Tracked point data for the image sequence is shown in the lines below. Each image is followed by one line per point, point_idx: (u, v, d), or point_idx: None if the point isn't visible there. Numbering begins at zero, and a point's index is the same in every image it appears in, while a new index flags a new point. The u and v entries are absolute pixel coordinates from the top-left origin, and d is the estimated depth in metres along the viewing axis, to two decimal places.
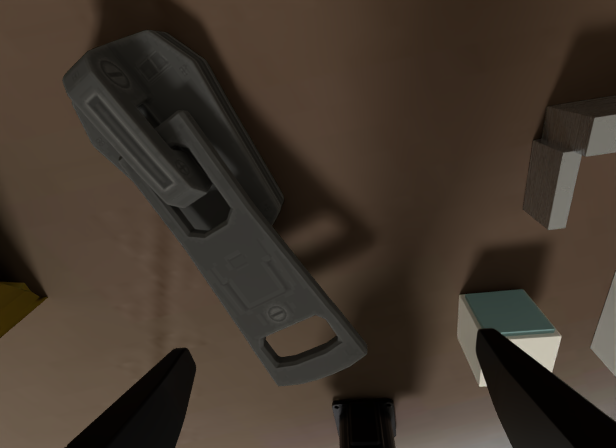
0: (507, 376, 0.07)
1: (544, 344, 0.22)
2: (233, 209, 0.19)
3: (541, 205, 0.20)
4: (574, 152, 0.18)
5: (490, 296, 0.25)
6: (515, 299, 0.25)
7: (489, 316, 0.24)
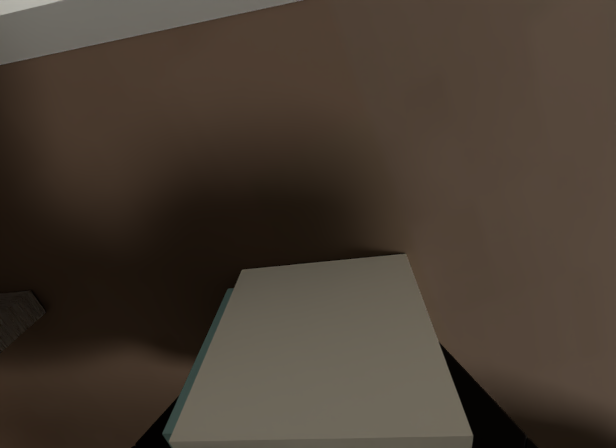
0: None
1: None
2: None
3: None
4: None
5: None
6: None
7: None
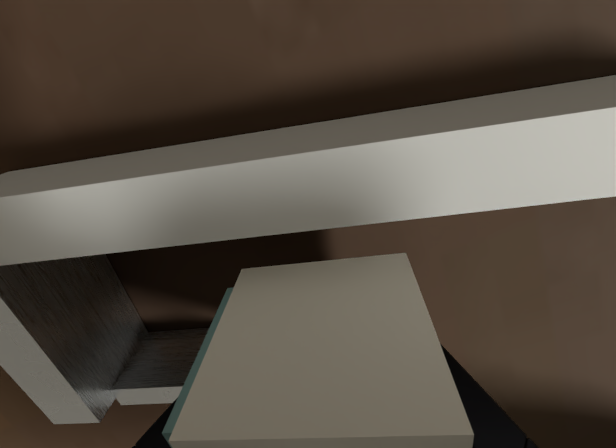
0: None
1: None
2: None
3: None
4: (116, 395, 0.13)
5: None
6: None
7: None
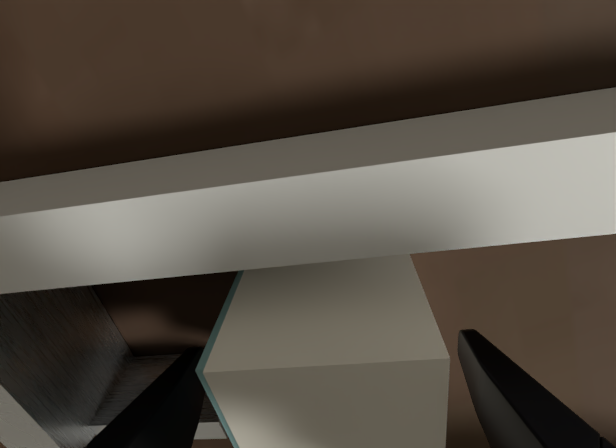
0: (484, 377, 0.07)
1: (247, 399, 0.07)
2: None
3: None
4: (95, 432, 0.12)
5: None
6: None
7: None
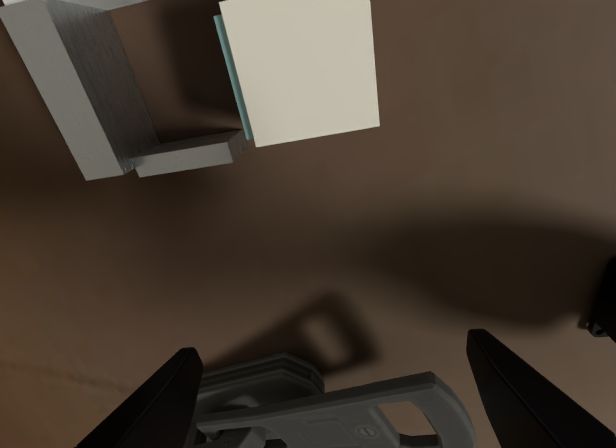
0: (495, 377, 0.07)
1: (246, 30, 0.11)
2: (260, 425, 0.23)
3: None
4: (135, 165, 0.16)
5: None
6: None
7: None
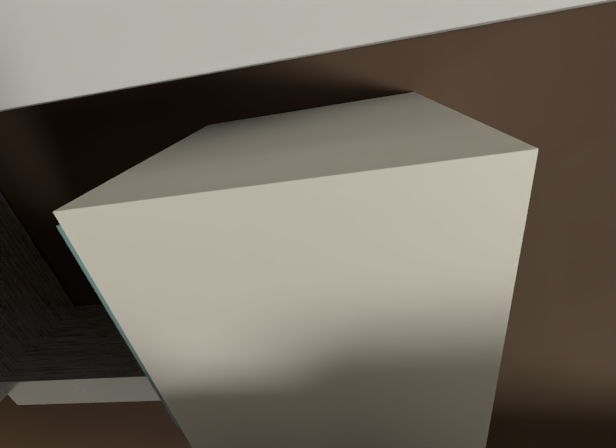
0: None
1: (146, 275, 0.04)
2: None
3: None
4: (7, 391, 0.09)
5: None
6: None
7: None
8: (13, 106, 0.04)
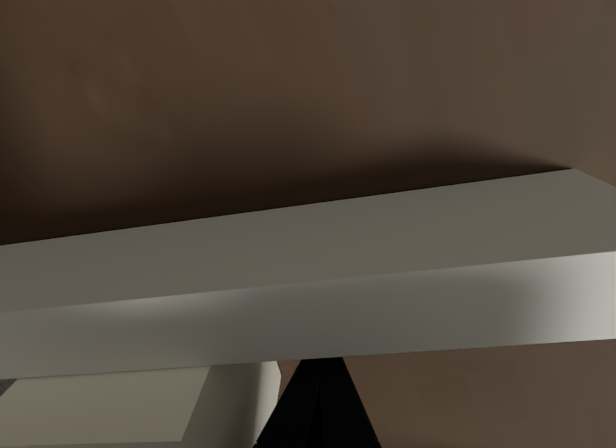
0: None
1: None
2: None
3: None
4: None
5: None
6: None
7: None
8: (2, 378, 0.08)
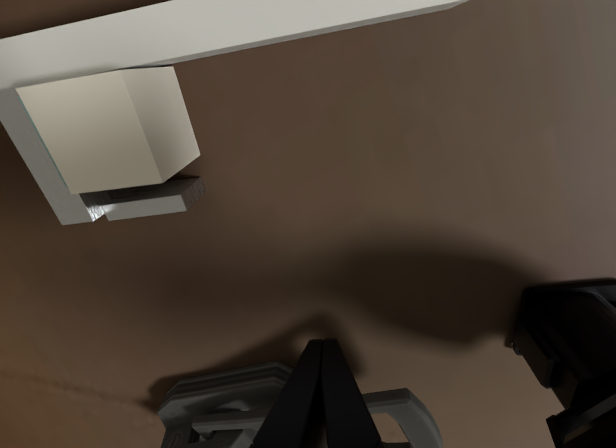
0: (321, 384, 0.08)
1: (41, 109, 0.14)
2: (252, 428, 0.25)
3: None
4: (105, 211, 0.18)
5: None
6: None
7: None
8: (136, 65, 0.14)
